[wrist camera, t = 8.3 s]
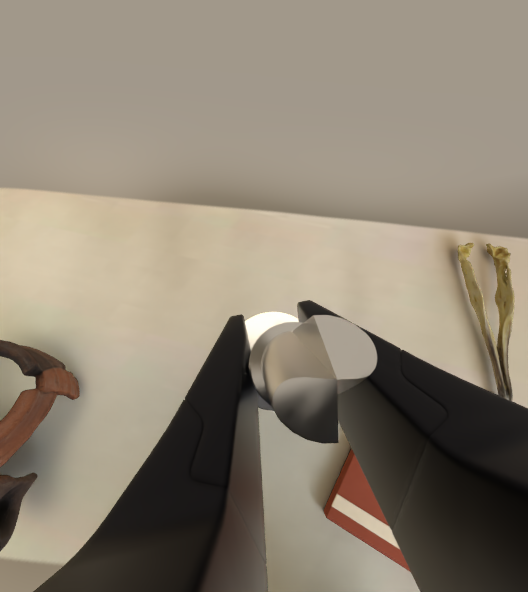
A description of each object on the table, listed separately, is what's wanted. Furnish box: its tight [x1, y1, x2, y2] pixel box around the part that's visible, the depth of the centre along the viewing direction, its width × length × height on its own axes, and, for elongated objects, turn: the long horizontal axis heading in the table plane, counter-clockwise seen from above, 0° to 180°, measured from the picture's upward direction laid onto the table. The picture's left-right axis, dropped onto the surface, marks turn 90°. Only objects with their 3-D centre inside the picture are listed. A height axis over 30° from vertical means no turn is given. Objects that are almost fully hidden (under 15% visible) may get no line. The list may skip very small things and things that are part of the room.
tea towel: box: [324, 448, 411, 572], centre depth 17 cm, size 14×6×1 cm, turn 60°
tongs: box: [458, 243, 514, 401], centre depth 20 cm, size 4×13×2 cm, turn 3°
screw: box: [245, 312, 377, 443], centre depth 9 cm, size 13×5×5 cm
